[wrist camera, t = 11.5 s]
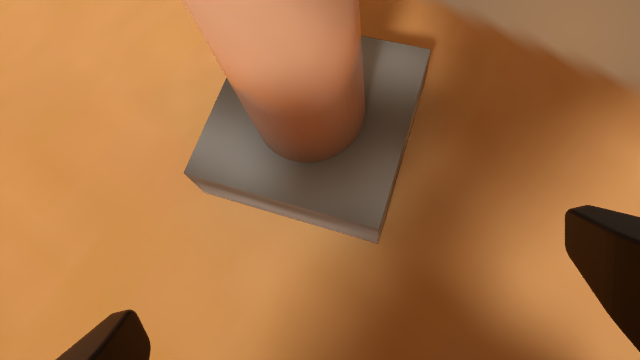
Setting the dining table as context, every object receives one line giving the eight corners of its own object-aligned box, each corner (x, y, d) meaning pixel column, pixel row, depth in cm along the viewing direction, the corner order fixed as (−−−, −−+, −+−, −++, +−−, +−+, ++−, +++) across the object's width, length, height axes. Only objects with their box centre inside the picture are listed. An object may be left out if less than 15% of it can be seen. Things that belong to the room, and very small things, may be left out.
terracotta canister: (323, 183, 21) (249, -30, 9) (234, 127, 23) (70, -116, 11) (386, 94, 22) (396, -198, 10) (298, 47, 24) (215, -252, 12)
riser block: (377, 243, 23) (378, 229, 20) (204, 192, 25) (183, 172, 22) (424, 81, 26) (430, 49, 23) (266, 47, 28) (254, 14, 25)
